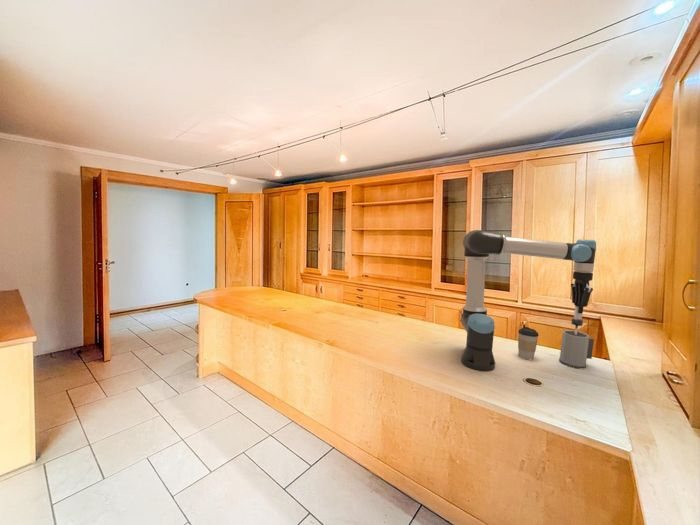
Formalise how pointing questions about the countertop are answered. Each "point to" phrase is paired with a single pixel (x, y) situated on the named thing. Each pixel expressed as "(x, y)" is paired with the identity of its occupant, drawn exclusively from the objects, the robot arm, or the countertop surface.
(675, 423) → the countertop surface
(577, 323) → the plunger
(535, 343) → the coffee cup
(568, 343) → the press beaker
